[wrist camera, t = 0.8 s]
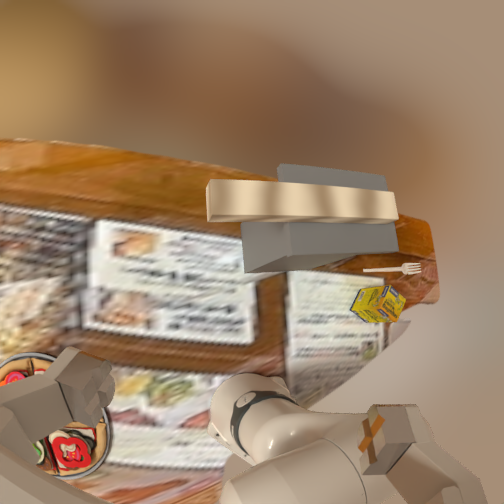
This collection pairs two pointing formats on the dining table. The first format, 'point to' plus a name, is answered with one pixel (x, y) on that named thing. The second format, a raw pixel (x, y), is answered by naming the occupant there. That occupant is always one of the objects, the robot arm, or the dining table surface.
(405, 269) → the fork
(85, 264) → the dining table surface
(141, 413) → the dining table surface
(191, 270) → the dining table surface
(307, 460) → the robot arm
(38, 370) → the toy pizza
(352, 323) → the dining table surface
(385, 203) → the birch bar
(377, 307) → the supplement box
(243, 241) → the charcoal stand
